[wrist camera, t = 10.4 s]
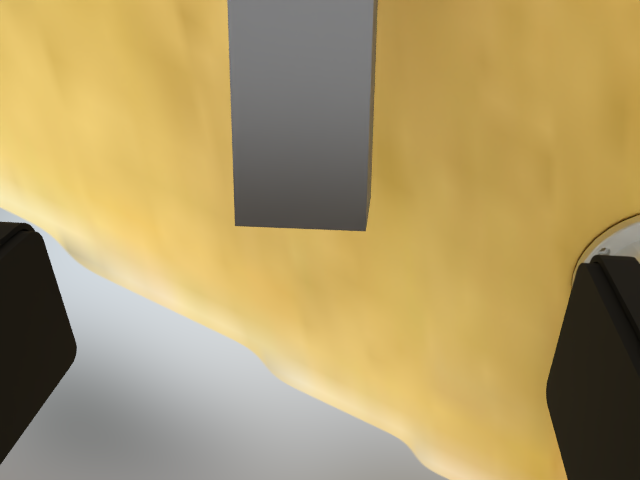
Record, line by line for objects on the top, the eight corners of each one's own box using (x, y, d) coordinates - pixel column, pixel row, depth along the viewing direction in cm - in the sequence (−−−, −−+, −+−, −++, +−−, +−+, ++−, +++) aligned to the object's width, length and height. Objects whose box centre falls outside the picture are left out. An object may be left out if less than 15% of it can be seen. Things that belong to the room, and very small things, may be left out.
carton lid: (570, -42, 26) (547, 144, 29) (155, -38, 28) (167, 135, 31) (908, -256, 9) (781, 250, 12) (-197, -204, 11) (-110, 214, 14)
